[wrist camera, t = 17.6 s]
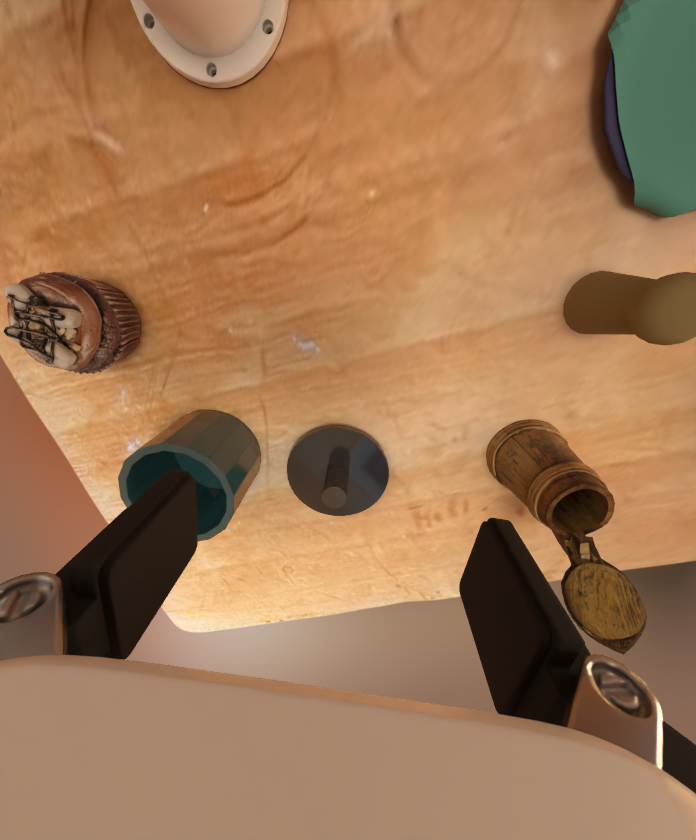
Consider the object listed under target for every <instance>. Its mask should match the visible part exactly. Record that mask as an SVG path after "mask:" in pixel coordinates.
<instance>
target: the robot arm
mask: <svg viewBox="0 0 696 840" xmlns="http://www.w3.org/2000/svg"><path fill="white" fill-rule="evenodd" d="M288 2H289V0H131V3H132V6H133V9H134V11H135V14H136V16H137V18H138V21H139V23H140V25H141V27H142V29H143V30H144V32H145V34H146V36H147V37H148V39H149V41H150V42H151V44H152V45H153V46H154V47H155V49H156V50H157V51H158V52H159V54H160V55H161V56H162V57H163V58H164V59H165V60H166V61H167V63H168V64H169V65H170V66H171V67H172V68H173V69H175V70H176V71H177V72H179V73H180V74H181V75H182V76H184V77H185V78H187V79H189V80H191V81H193V82H195V83H197V84H199V85H203V86H207V87H211V88H228V87H232V86H236V85H239V84H242V83H243V82H245V81H247V80H249V79H250V78H252V77H254V76H255V75H256V74H257V73H258V72H259V71H260V70H261V69H262V68H263V67H264V66H265V65H266V63H267V62H268V60H269V59H270V58H271V56H272V55H273V53H274V51H275V49H276V47H277V45H278V43H279V41H280V38H281V36H282V32H283V29H284V25H285V22H286V17H287V9H288ZM270 31H272V33H271V34H268V33H269V32H270ZM214 73H216V75H215V76H213V74H214ZM196 548H197V507H196V479H195V477H191V474H190V472H188V471H182V470H175V469H169V470H168V471H167V472H166V473H164V474H163V475H162V476H161V477H160V478H159V479H158V480H157V481H156V482H155V483H154V484H153V485H152V486H151V487H150V488H148V489H147V490H146V491H145V492H144V493H143V494H142V495H141V496H140V497H139V498H138V499H137V500H136V501H135V502H134V503H132V504H131V505H130V506H129V507H128V508H127V509H125V510H124V511H123V512H122V513H121V514H120V515H119V516H117V517H116V518H115V519H114V520H113V521H112V522H111V523H110V524H109V525H108V526H107V527H106V528H105V529H104V530H102V531H101V532H100V533H99V534H98V535H97V536H96V537H95V538H94V539H93V540H92V541H91V542H90V543H89V544H88V545H87V546H85V547H84V548H83V549H82V550H81V551H80V552H79V553H78V554H77V555H76V556H75V557H74V558H72V559H71V560H70V561H69V562H68V563H67V564H66V565H65V566H64V567H63V568H62V569H61V570H60V571H59V572H57V573H56V574H51V573H47V572H38V573H30V574H25V575H21V576H18V577H15V578H13V579H10V580H7V581H6V582H4V583H2V584H0V840H696V745H695V744H693V743H692V742H691V741H690V740H688V739H687V738H686V737H684V736H683V735H682V734H680V733H679V732H678V731H676V730H675V729H674V728H672V727H671V726H669V725H668V724H667V723H665V722H664V721H663V716H662V711H661V707H660V705H659V703H658V701H657V699H656V697H655V695H654V694H653V692H652V691H651V690H650V688H649V687H648V686H647V685H646V684H645V682H644V681H643V680H642V679H641V678H639V677H638V676H637V675H636V674H635V673H634V672H633V671H631V670H630V669H629V668H627V667H626V666H625V665H623V664H621V663H620V662H618V661H616V660H614V659H613V658H610V657H607V656H604V655H597V654H593V655H591V654H590V653H589V651H588V649H587V648H586V646H585V642H584V640H583V639H582V637H581V636H580V634H579V632H578V631H577V629H576V627H575V626H574V624H573V622H572V621H571V619H570V618H569V616H568V614H567V613H566V611H565V609H564V608H563V606H562V605H561V603H560V601H559V600H558V598H557V596H556V595H555V593H554V592H553V590H552V588H551V587H550V585H549V583H548V582H547V580H546V578H545V577H544V575H543V574H542V572H541V570H540V569H539V567H538V565H537V564H536V562H535V561H534V559H533V557H532V556H531V554H530V552H529V551H528V549H527V548H526V546H525V544H524V543H523V541H522V539H521V538H520V536H519V535H518V533H517V531H516V530H515V528H514V526H513V525H512V523H511V522H510V521H508V520H503V519H496V518H489V519H488V521H487V522H486V521H484V522H483V523H482V524H481V527H480V530H479V532H478V535H477V538H476V540H475V543H474V546H473V549H472V551H471V554H470V557H469V559H468V562H467V565H466V567H465V570H464V573H463V575H462V578H461V581H460V595H461V598H462V602H463V604H464V608H465V611H466V615H467V618H468V621H469V624H470V628H471V631H472V634H473V637H474V641H475V644H476V647H477V650H478V654H479V657H480V660H481V663H482V667H483V670H484V673H485V676H486V680H487V683H488V686H489V689H490V693H491V696H492V699H493V702H494V706H495V708H496V710H497V712H498V713H499V714H495V713H489V712H483V711H477V710H471V709H464V708H458V707H451V706H444V705H438V704H431V703H425V702H418V701H411V700H405V699H399V698H392V697H385V696H378V695H372V694H365V693H359V692H352V691H345V690H338V689H331V688H325V687H318V686H311V685H304V684H297V683H290V682H283V681H276V680H269V679H262V678H255V677H248V676H241V675H234V674H226V673H219V672H213V671H205V670H198V669H191V668H184V667H177V666H170V665H162V664H153V663H146V662H137V661H129V660H124V659H126V658H127V657H128V656H129V655H130V654H131V652H132V650H133V649H134V647H135V646H136V644H137V643H138V641H139V640H140V638H141V636H142V635H143V633H144V632H145V630H146V629H147V627H148V625H149V624H150V622H151V620H152V619H153V618H154V616H155V615H156V613H157V611H158V609H159V608H160V607H161V605H162V604H163V602H164V600H165V599H166V597H167V596H168V594H169V593H170V591H171V589H172V588H173V586H174V585H175V583H176V582H177V580H178V578H179V577H180V575H181V574H182V572H183V571H184V569H185V567H186V566H187V564H188V563H189V561H190V560H191V558H192V556H193V555H194V553H195V551H196ZM121 659H123V660H121Z"/></svg>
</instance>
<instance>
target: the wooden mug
mask: <svg viewBox="0 0 696 840" xmlns="http://www.w3.org/2000/svg"><path fill="white" fill-rule="evenodd" d="M487 463H488V467H489V470H490V472H491V473H492V474H493V476H494V477H495V478H496V480H497V481H498V482H499V483H500V484H502V485H503V486H504V487H506V488H507V489H509V490H510V491H512V492H513V493H514V494H515V495H516V496H517V497H518V498H519V499H520V500H521V501H522V502H523V503H524V504H525V505H526V506H527V507H528V509H529V511H530V512H531V514H532V515H533V517H534V518H536V519H537V520H538V521H539V522H540V523H542V524H544V525H545V526H547V527H549V528H550V529H551V530H552V532H553V533H554V535H555V537H556V539H557V541H558V542H559V544H560V545H561V547H562V548H563V550H564V551H565V552H566V554H567V555H568V557H569V559H570V562H571V566H570V567H569V568H568V570H567V571H566V572H565V575H564V577H563V579H562V582H561V586H562V594H563V598H564V602H565V605H566V607H567V610H568V611H569V613H570V615H571V617H572V619H573V620H574V621H575V622H576V624H577V625H578V626H579V627H580V629H582V630H583V631H584V632H585V633H586V634H587V635H588V636H590V637H591V638H592V639H594V640H596V641H597V642H599V643H601V644H603V645H604V646H606V647H608V648H610V649H612V650H614V651H617V652H619V653H622V654H625V653H626V652H627V651H628V650H629V649H630V648H631V647H632V646H634V644H635V643H636V642H637V640H638V639H639V637H640V636H641V634H642V632H643V630H644V628H645V625H646V618H647V616H646V613H645V609H644V605H643V602H642V600H641V598H640V596H639V595H638V592H637V591H636V589H635V587H634V586H633V584H632V582H631V581H630V580H629V579H628V578H627V576H626V575H625V574H624V573H622V572H621V571H620V570H618V569H617V568H616V567H614V566H612V565H611V564H609V563H607V562H606V561H604V560H603V559H601V557H600V555H599V553H598V551H597V549H596V547H595V544H594V541H593V538H592V537H586V536H585V535H586V534H589V533H591V532H593V531H595V530H597V529H600V528H601V527H603V526H604V525H606V524H607V523H608V522H609V520H610V519H611V517H612V515H613V512H614V505H615V502H614V499H613V496H612V494H611V493H610V492H609V491H608V488H607V485H606V483H605V482H604V481H603V480H602V479H601V478H600V477H599V476H598V475H597V473H596V472H595V471H594V470H593V469H591V468H590V467H588V466H587V465H585V464H584V463H583V462H582V461H581V460H580V459H579V458H578V457H577V456H576V454H575V453H574V452H573V451H572V450H571V449H570V448H569V445H568V443H567V441H566V440H565V439H564V438H563V436H562V435H561V434H560V433H559V431H558V430H557V429H556V428H555V427H553V426H552V425H551V424H549V423H546V422H542V421H538V420H526V421H520V422H517V423H514V424H512V425H509V426H507V427H506V428H504V429H503V430H502V431H500V432H499V433H498V434H497V435H496V436H495V437H494V438H493V439H492V441H491V443H490V445H489V447H488V450H487Z"/></svg>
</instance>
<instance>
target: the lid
mask: <svg viewBox="0 0 696 840" xmlns="http://www.w3.org/2000/svg"><path fill="white" fill-rule="evenodd" d="M287 475H288V480H289V483H290V486H291V488H292V490H293V491H294V493H295V494H296V496H297V497H298V498H299V499H300V500H301V501H302V502H303V503H304V504H306V505H307V506H308V507H310V508H312V509H313V510H316V511H318V512H321V513H324V514H328V515H334V516H346V515H352V514H356V513H359V512H362V511H364V510H366V509H367V508H369V507H370V506H372V505H373V504H374V503H375V502H377V500H378V499H379V498H380V497H381V496H382V494H383V493H384V491H385V488H386V486H387V483H388V477H389V469H388V463H387V459H386V456H385V454H384V452H383V450H382V449H381V447H380V446H379V445H378V444H377V443H376V441H375V440H373V439H372V438H371V437H370V436H368V435H367V434H365V433H363V432H361V431H359V430H357V429H354V428H351V427H346V426H327V427H322V428H318V429H316V430H314V431H311V432H310V433H308V434H306V435H305V436H304V437H302V438H301V439H300V440H299V441H298V442H297V444H296V445H295V446H294V448H293V450H292V452H291V454H290V456H289V459H288V464H287Z"/></svg>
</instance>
